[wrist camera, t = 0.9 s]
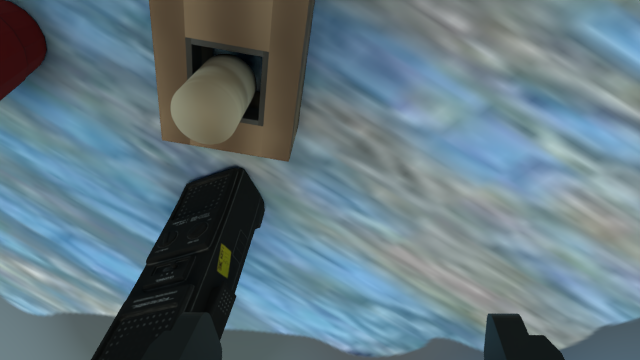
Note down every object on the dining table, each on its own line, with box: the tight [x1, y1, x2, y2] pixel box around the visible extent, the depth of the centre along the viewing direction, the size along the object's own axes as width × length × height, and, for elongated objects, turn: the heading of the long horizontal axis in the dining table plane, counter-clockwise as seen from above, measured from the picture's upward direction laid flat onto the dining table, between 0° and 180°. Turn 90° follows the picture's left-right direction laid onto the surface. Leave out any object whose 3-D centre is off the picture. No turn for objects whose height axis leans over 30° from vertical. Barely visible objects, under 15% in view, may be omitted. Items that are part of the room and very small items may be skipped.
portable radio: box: [91, 168, 265, 360], centre depth 30 cm, size 8×6×25 cm
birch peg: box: [171, 54, 256, 145], centre depth 25 cm, size 4×4×6 cm
